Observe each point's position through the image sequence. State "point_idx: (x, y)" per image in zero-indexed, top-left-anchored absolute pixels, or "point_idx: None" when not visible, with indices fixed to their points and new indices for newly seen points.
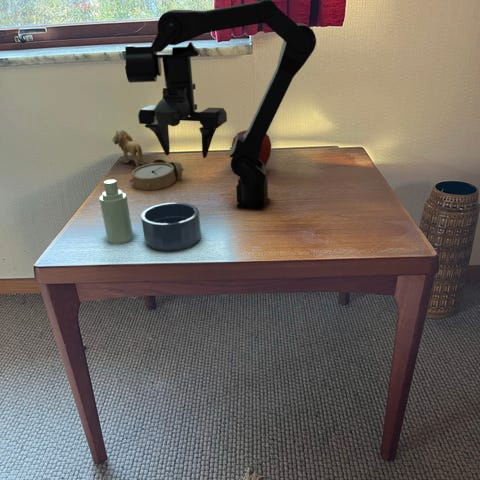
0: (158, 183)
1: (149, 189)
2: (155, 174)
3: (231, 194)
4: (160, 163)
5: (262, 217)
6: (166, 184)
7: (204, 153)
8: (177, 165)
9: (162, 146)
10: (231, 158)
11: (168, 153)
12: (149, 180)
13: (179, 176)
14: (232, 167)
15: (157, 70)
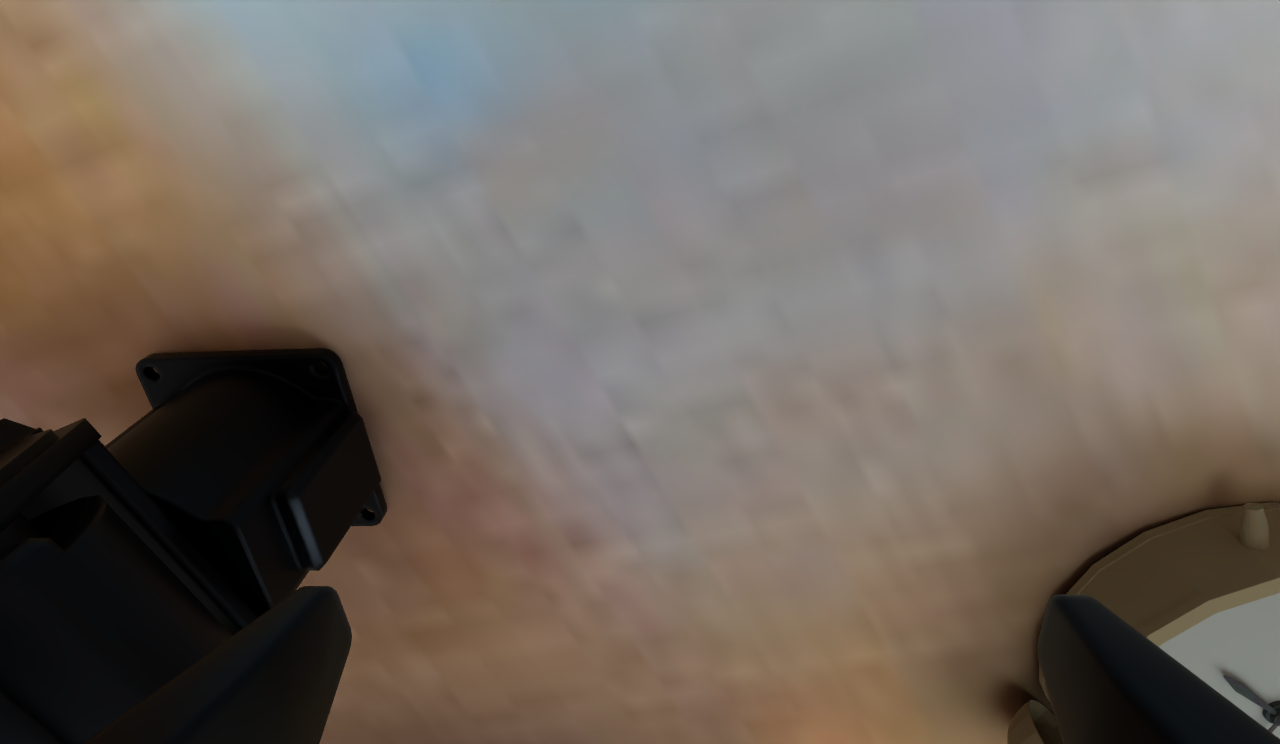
0: (1159, 571)
1: (1225, 510)
2: (1236, 674)
3: (522, 557)
4: None
5: (60, 242)
6: (1085, 594)
7: (247, 637)
8: None
9: (1249, 736)
10: (50, 670)
11: (1049, 646)
12: (1265, 567)
13: (1019, 718)
14: (62, 545)
15: None
